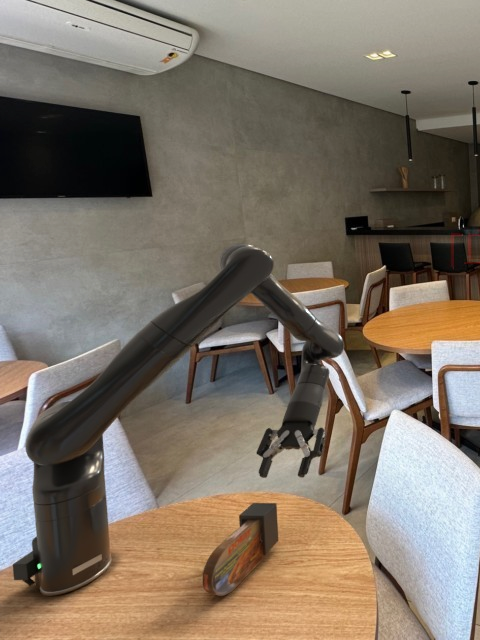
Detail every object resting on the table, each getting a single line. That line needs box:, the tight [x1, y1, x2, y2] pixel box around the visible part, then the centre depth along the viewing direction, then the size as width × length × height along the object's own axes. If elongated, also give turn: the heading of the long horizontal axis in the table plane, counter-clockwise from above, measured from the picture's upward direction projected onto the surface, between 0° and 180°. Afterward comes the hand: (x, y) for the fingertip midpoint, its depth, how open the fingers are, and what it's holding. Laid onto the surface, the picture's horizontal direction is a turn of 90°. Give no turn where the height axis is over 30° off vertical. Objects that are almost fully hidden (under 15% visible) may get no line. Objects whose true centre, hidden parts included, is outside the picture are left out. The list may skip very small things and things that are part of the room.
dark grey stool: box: [238, 502, 279, 555], centre depth 84 cm, size 5×4×8 cm
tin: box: [202, 519, 270, 597], centre depth 79 cm, size 15×3×8 cm, turn 169°
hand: (281, 476), depth 93 cm, fingers open, 8 cm apart
